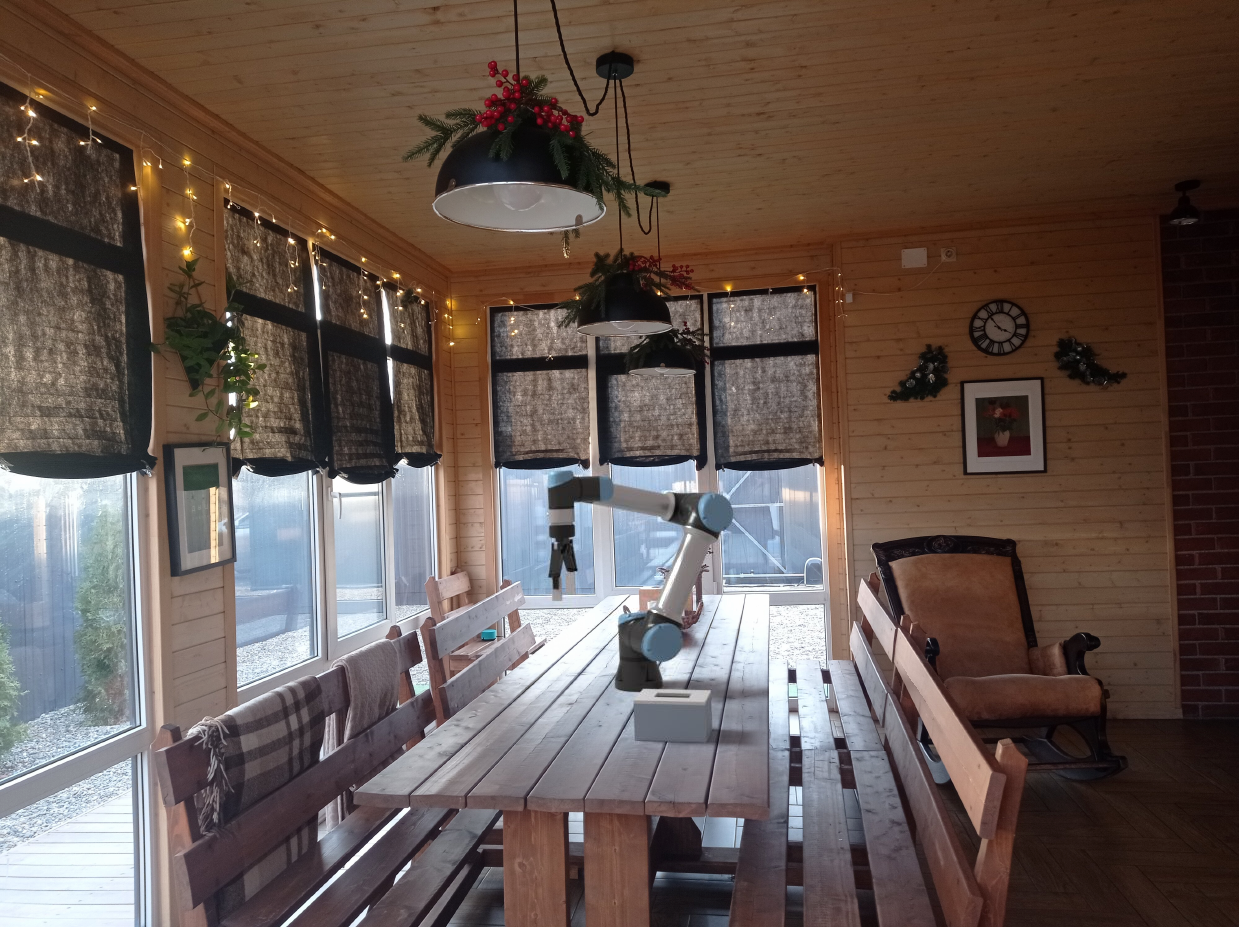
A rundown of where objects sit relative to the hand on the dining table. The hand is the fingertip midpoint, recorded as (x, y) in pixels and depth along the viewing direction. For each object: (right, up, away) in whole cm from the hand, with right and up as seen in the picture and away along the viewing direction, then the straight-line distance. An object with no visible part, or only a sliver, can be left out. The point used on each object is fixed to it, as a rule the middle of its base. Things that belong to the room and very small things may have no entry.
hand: (564, 597), depth 264 cm
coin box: (+30, -30, -31) cm, 53 cm away
